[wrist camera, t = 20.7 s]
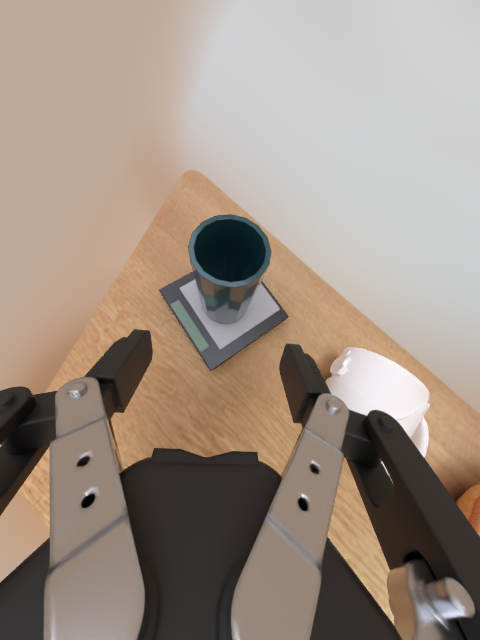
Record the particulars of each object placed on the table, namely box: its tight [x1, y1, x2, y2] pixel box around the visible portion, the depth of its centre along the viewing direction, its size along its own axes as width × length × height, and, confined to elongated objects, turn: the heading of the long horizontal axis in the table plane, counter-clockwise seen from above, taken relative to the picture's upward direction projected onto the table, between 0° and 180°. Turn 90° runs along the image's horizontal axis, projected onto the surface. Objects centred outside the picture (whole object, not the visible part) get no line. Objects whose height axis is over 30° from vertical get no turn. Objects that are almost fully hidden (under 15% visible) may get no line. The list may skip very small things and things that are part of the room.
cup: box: [188, 214, 271, 324], centre depth 19 cm, size 6×6×11 cm
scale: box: [159, 272, 288, 371], centre depth 26 cm, size 12×12×3 cm
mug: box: [326, 347, 430, 476], centre depth 21 cm, size 12×9×8 cm
